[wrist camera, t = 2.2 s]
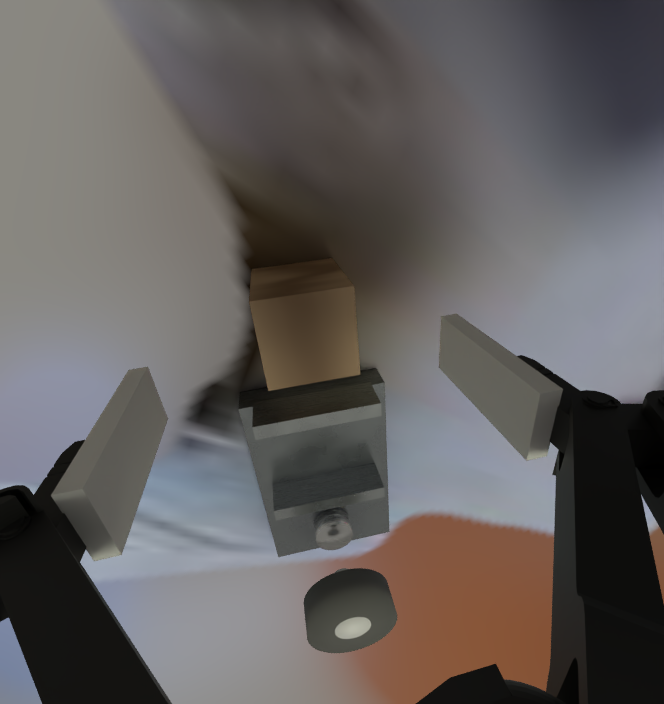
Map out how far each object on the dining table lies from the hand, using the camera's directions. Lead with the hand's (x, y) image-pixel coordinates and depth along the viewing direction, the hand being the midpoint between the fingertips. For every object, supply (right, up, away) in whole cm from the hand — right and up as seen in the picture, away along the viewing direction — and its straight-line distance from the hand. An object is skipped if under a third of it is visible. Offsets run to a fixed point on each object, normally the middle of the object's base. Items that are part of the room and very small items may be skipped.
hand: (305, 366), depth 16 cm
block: (-1, +4, +7) cm, 8 cm away
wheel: (+2, -16, +10) cm, 19 cm away
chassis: (0, -8, +14) cm, 16 cm away
